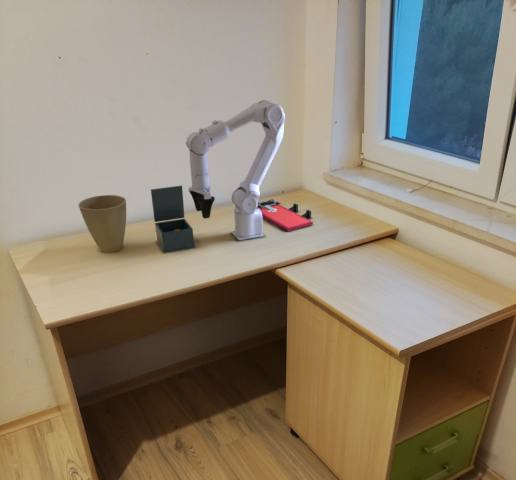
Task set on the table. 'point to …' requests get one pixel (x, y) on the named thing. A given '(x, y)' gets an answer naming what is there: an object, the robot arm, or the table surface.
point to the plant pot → (105, 220)
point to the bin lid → (167, 203)
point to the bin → (174, 235)
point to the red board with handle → (284, 215)
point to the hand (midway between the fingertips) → (203, 214)
